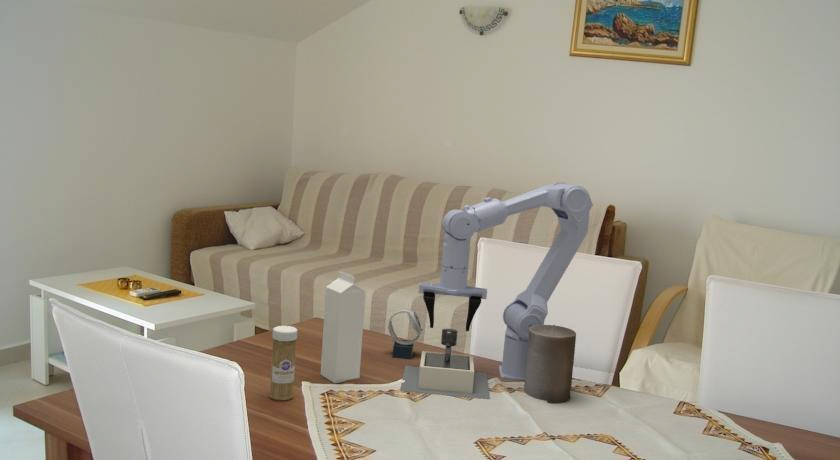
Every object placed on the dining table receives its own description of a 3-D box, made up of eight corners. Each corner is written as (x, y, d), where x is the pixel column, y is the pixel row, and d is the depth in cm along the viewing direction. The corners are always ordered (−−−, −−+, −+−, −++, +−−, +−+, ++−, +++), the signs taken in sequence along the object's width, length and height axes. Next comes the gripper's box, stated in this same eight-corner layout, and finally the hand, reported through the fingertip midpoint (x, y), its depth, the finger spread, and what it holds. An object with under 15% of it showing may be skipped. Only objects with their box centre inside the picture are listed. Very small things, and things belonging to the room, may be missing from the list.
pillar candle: (576, 394, 154) (583, 324, 153) (560, 406, 146) (567, 333, 144) (533, 383, 159) (539, 315, 157) (515, 395, 151) (521, 324, 149)
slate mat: (486, 374, 162) (486, 373, 162) (490, 401, 146) (490, 399, 146) (405, 367, 163) (405, 365, 163) (399, 392, 147) (399, 390, 147)
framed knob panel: (471, 375, 160) (472, 355, 159) (472, 393, 149) (474, 371, 148) (420, 370, 160) (422, 350, 159) (418, 388, 149) (419, 366, 148)
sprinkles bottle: (275, 402, 136) (279, 332, 135) (265, 394, 140) (268, 326, 138) (297, 399, 139) (301, 330, 137) (286, 391, 143) (290, 323, 141)
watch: (419, 361, 168) (423, 314, 166) (384, 358, 168) (388, 311, 167) (421, 354, 173) (424, 309, 172) (387, 351, 174) (390, 305, 172)
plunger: (467, 359, 158) (470, 327, 157) (467, 372, 149) (470, 338, 148) (427, 355, 158) (429, 323, 157) (425, 368, 150) (428, 334, 149)
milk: (334, 384, 149) (341, 277, 146) (320, 374, 154) (326, 271, 151) (360, 379, 153) (367, 275, 150) (345, 370, 157) (351, 269, 154)
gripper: (420, 266, 153) (414, 330, 155) (489, 272, 152) (483, 336, 154) (421, 261, 160) (416, 321, 162) (488, 266, 159) (482, 327, 161)
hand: (449, 328), depth 158 cm, fingers open, 7 cm apart
